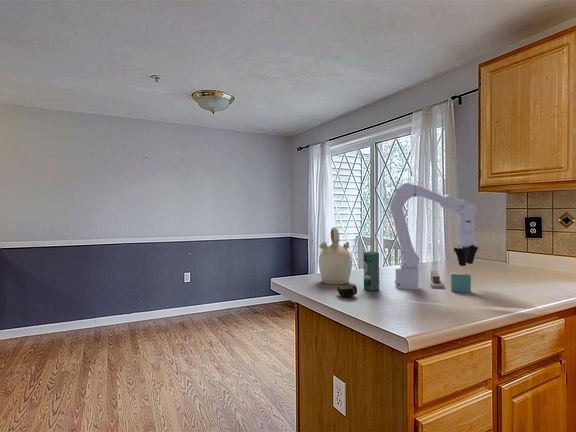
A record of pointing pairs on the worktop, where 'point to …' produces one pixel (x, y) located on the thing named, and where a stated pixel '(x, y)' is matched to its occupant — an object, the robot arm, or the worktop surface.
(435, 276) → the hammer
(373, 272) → the can
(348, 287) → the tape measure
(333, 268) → the jug
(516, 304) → the worktop surface
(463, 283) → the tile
